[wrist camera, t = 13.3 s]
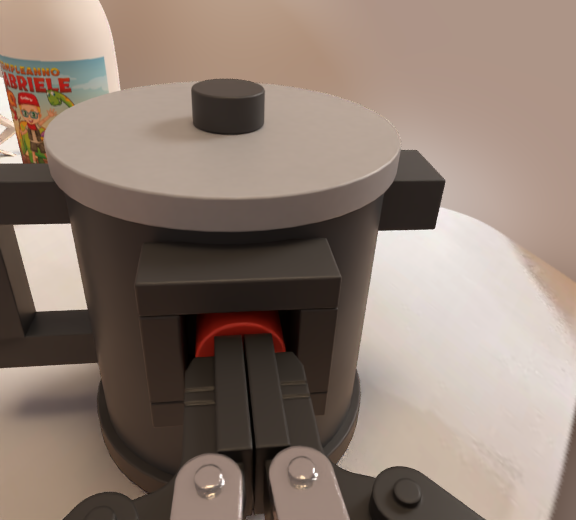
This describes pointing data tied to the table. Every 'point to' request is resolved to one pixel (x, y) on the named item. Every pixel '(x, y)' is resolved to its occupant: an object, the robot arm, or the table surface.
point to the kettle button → (236, 328)
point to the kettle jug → (207, 244)
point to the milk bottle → (53, 63)
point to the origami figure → (6, 133)
